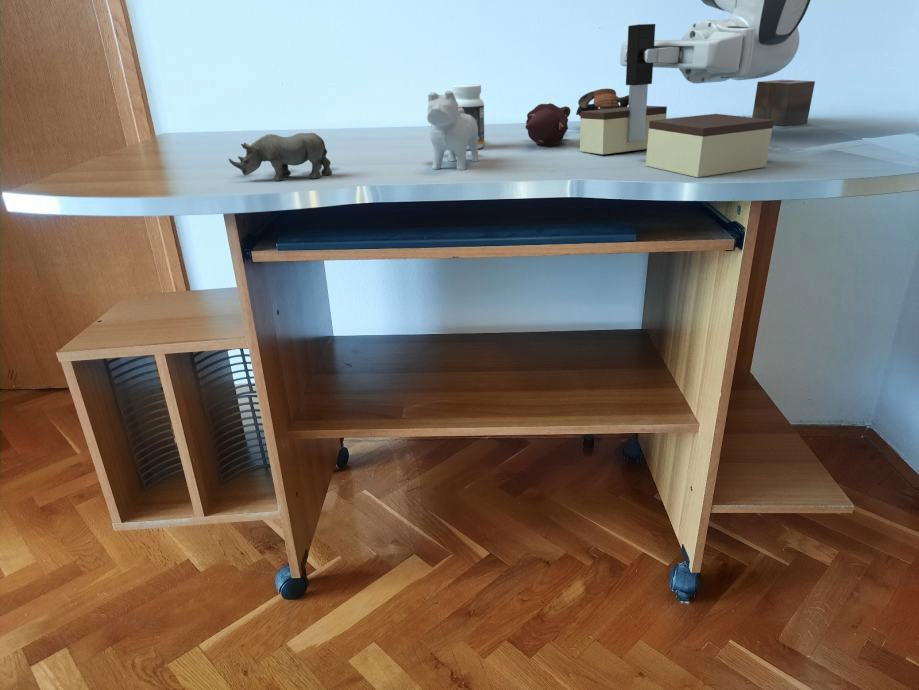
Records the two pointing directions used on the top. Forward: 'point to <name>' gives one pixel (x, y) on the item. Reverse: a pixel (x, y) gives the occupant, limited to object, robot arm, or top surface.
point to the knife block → (783, 101)
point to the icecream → (547, 124)
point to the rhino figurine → (285, 154)
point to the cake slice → (613, 130)
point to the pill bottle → (471, 106)
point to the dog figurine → (451, 130)
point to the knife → (638, 78)
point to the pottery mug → (601, 100)
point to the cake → (708, 144)
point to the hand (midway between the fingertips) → (635, 55)
